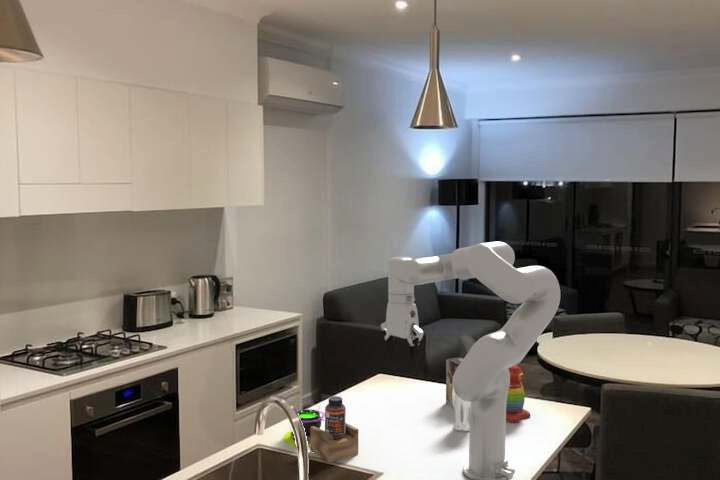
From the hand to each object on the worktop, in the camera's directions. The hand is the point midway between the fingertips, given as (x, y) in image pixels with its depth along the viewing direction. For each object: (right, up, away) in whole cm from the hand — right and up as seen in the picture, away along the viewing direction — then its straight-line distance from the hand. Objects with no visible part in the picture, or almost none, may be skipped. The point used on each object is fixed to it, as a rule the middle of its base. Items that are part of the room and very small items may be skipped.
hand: (401, 355), depth 198 cm
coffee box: (+23, -24, +36) cm, 49 cm away
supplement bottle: (-20, -23, -6) cm, 31 cm away
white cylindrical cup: (+20, -26, +15) cm, 36 cm away
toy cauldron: (-29, -27, +7) cm, 40 cm away
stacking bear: (+38, -25, +26) cm, 53 cm away
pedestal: (-20, -27, -5) cm, 34 cm away
